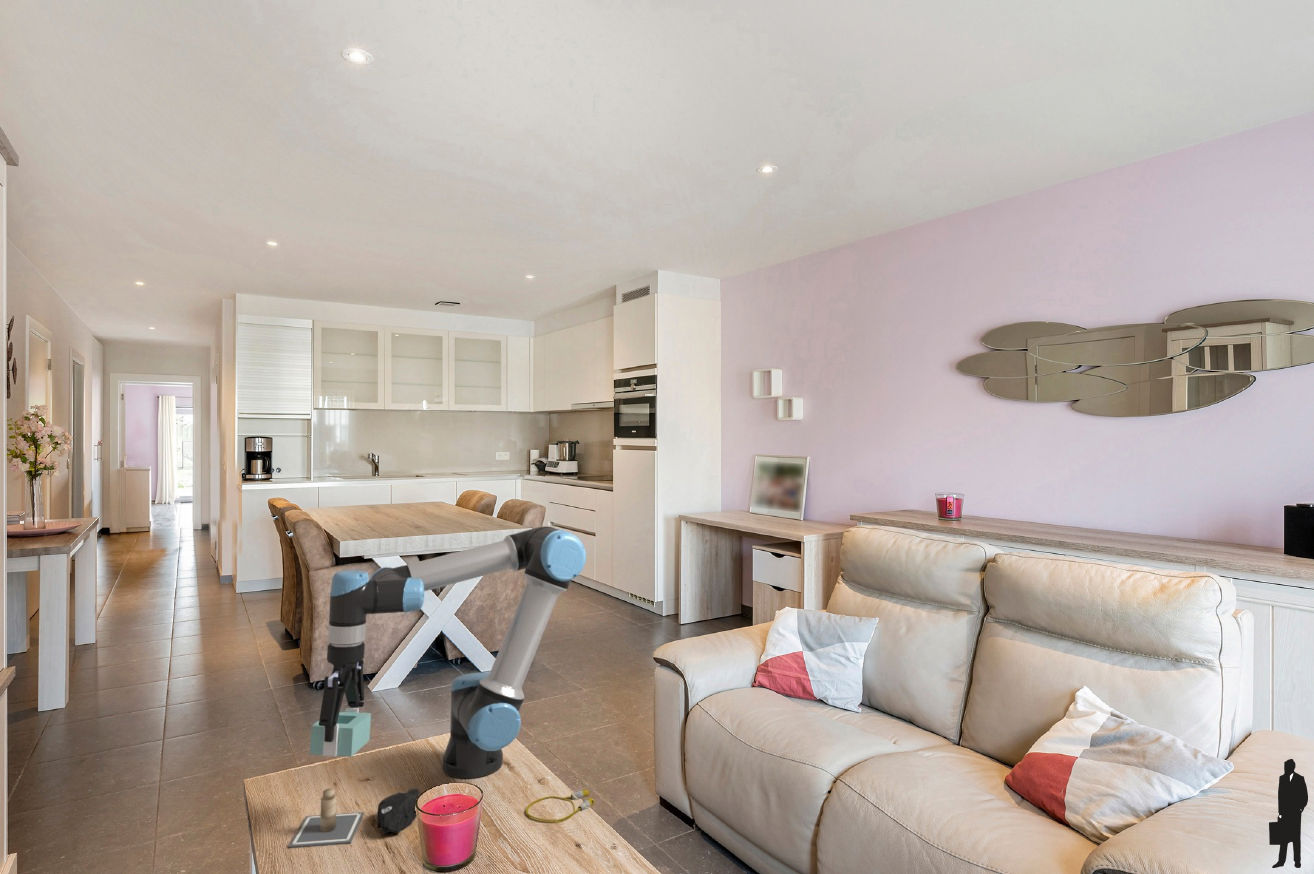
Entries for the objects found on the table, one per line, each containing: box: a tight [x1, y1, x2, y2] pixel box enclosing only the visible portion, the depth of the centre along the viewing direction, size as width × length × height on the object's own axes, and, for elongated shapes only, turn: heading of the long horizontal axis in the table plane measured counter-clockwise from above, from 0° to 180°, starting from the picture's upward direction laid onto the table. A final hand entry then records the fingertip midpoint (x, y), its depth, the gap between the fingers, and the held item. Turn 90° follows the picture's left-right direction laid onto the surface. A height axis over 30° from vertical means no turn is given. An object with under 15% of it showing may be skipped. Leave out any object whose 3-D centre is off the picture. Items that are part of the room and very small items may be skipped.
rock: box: [376, 788, 420, 834], centre depth 154 cm, size 10×9×6 cm
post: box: [319, 787, 337, 832], centre depth 151 cm, size 3×3×8 cm
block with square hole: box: [309, 710, 372, 758], centre depth 155 cm, size 9×9×6 cm
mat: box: [287, 811, 365, 849], centre depth 151 cm, size 12×12×1 cm
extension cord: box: [524, 789, 595, 824], centre depth 162 cm, size 12×16×2 cm
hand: (340, 745), depth 155 cm, fingers closed on block with square hole, 9 cm apart
